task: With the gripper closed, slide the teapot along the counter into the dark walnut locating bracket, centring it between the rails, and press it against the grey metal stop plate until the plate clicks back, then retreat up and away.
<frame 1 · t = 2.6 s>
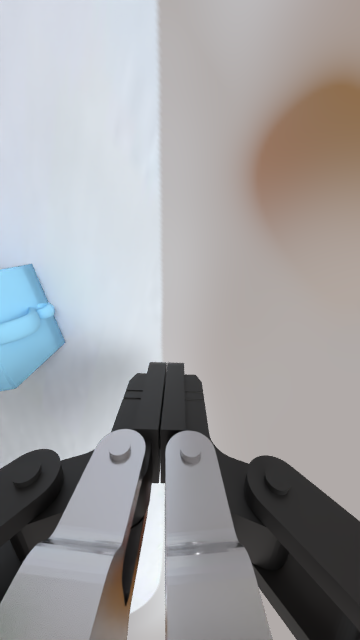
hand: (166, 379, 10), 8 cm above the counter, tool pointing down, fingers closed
teapot: (4, 311, 17), on the counter
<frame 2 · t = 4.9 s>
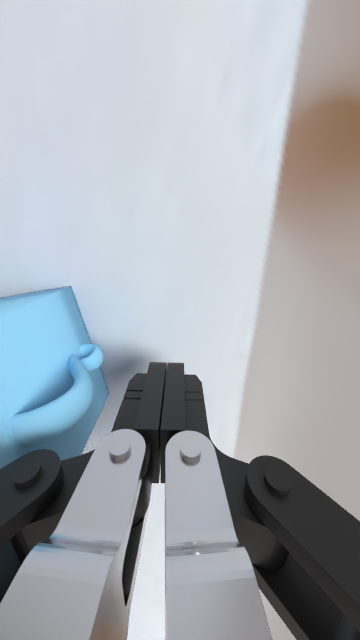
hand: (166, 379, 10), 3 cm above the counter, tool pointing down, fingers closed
teapot: (23, 347, 12), on the counter, touching gripper
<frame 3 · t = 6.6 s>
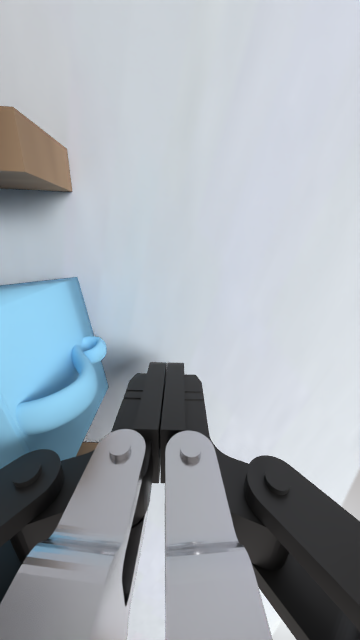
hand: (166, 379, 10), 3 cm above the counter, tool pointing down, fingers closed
teapot: (23, 336, 12), on the counter, touching gripper
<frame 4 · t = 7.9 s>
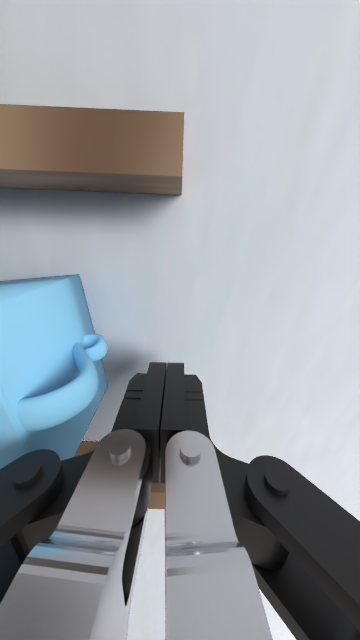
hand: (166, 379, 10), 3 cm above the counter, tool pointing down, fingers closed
teapot: (23, 333, 12), on the counter, touching gripper, stop plate
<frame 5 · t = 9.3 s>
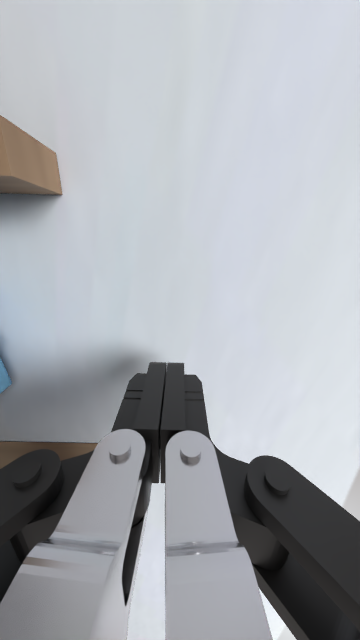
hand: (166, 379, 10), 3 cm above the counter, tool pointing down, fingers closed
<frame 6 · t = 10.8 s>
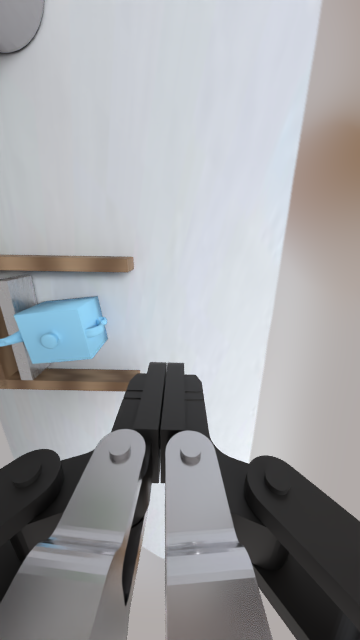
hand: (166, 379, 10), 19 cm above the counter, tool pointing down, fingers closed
locating bracket: (58, 322, 30), on the counter
stop plate: (26, 328, 28), point 2 cm above the counter, slide at 5.9 cm
teapot: (74, 318, 30), on the counter
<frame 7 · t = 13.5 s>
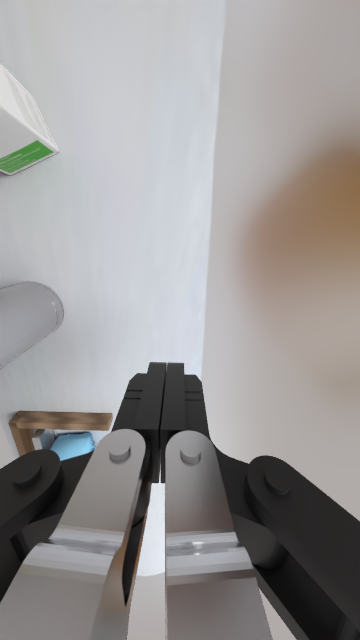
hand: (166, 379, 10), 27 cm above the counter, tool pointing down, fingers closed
locating bracket: (66, 443, 48), on the counter
skincare box: (23, 137, 28), on the counter
stop plate: (47, 452, 46), point 2 cm above the counter, slide at 5.9 cm
teapot: (76, 440, 48), on the counter
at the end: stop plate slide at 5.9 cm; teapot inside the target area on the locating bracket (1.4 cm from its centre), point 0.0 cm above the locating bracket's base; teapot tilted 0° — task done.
